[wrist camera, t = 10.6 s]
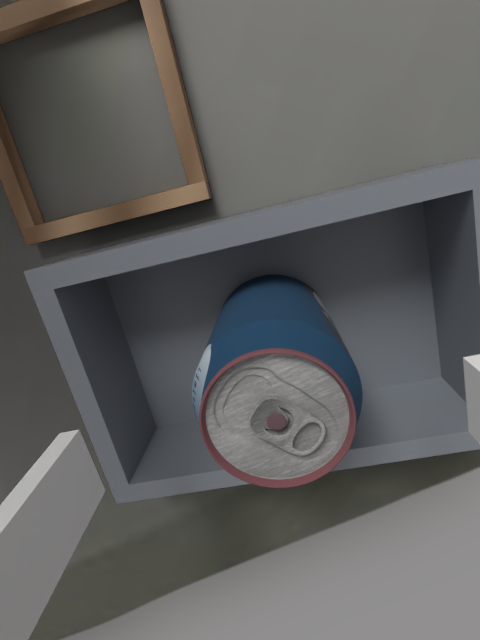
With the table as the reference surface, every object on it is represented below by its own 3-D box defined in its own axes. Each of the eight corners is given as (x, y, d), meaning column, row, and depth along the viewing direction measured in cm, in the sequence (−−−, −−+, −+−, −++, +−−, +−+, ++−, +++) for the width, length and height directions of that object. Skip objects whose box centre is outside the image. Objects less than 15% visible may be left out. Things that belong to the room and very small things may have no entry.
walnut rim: (37, 243, 26) (26, 245, 25) (-43, 37, 23) (-59, 28, 21) (212, 198, 24) (209, 198, 23) (154, -32, 21) (147, -45, 20)
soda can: (202, 340, 26) (151, 450, 15) (253, 250, 24) (239, 297, 13) (291, 388, 27) (307, 529, 16) (348, 304, 25) (414, 395, 14)
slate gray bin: (148, 439, 30) (116, 504, 24) (82, 252, 26) (22, 271, 20) (457, 385, 27) (515, 443, 20) (437, 164, 23) (501, 152, 16)
